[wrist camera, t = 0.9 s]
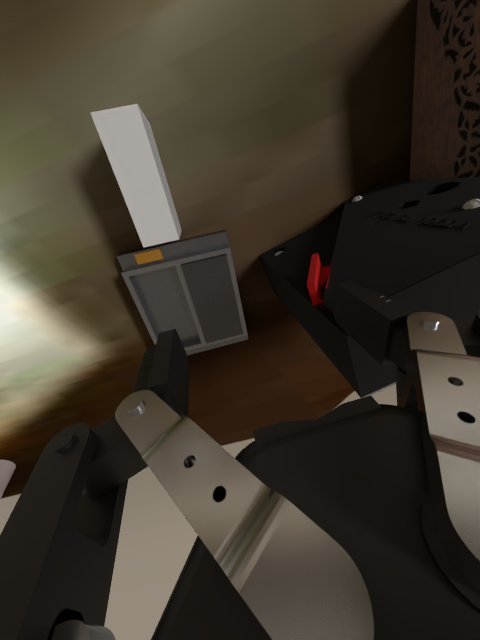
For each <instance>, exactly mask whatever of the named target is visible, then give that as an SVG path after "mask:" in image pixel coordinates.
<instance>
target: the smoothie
mask: <svg viewBox="0 0 480 640" xmlns="http://www.w3.org/2000/svg"><path fill="white" fill-rule="evenodd" d="M15 468H16V465H15V464H14V463H13V462H11V461H8V460H0V499H1V497H2V495H3V492H4V490H5V488H6V486H7V484H8V482H9V480H10V478H11V476H12V474H13V472H14V470H15Z"/></svg>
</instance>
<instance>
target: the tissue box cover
mask: <svg viewBox="0 0 480 640" xmlns="http://www.w3.org/2000/svg"><path fill="white" fill-rule="evenodd" d="M465 177H480V0H417V22H416V45H415V68H414V91H413V114H412V138H411V161H410V180H425V179H445V178H465Z"/></svg>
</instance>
